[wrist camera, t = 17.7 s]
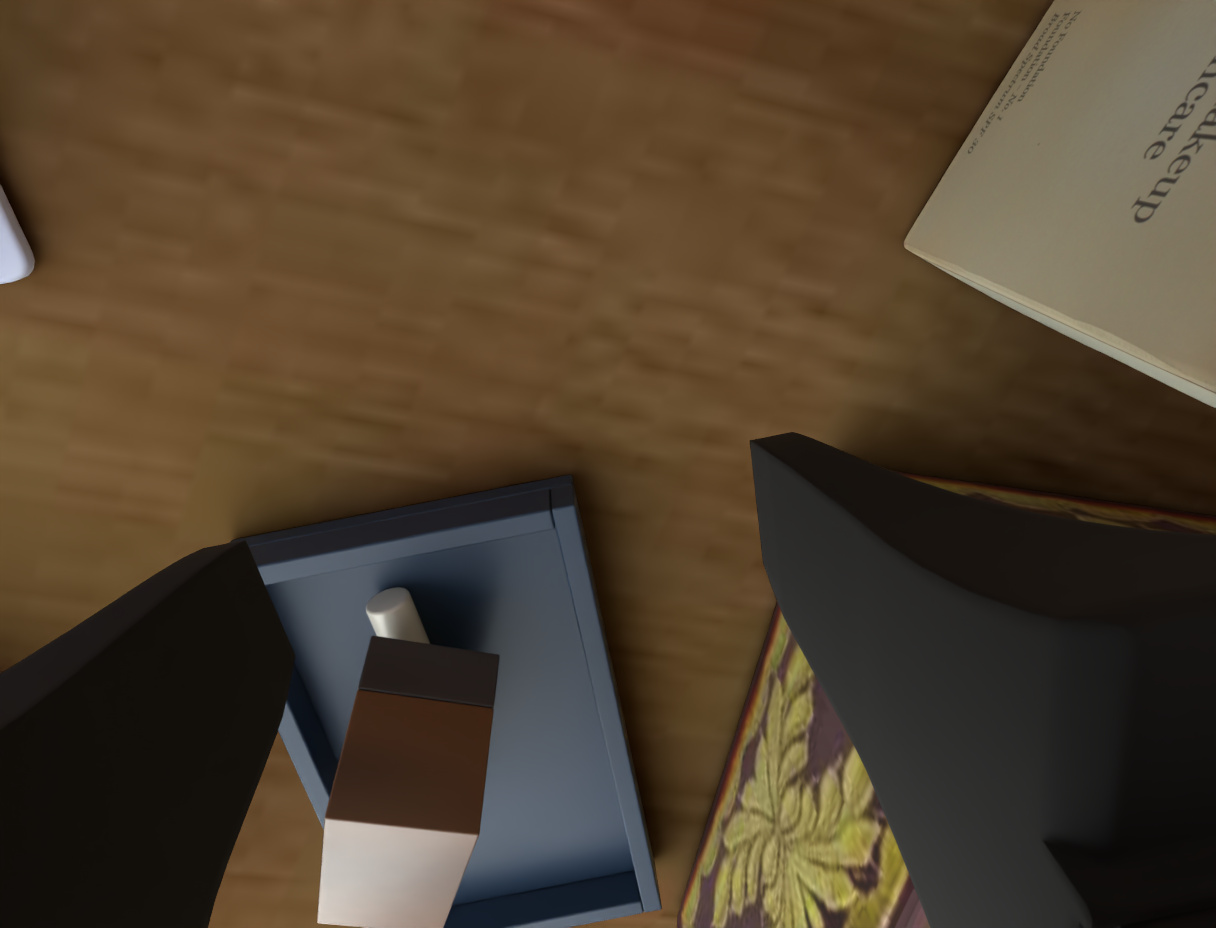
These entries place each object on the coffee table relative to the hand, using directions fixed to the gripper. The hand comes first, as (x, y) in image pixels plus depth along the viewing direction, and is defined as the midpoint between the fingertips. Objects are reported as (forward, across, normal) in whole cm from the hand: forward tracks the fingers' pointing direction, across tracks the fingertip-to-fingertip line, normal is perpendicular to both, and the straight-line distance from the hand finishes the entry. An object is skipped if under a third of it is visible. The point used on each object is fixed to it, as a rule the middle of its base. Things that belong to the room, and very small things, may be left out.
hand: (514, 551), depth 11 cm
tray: (+9, +4, +11) cm, 15 cm away
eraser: (+8, +5, +9) cm, 13 cm away
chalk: (+9, +4, +7) cm, 12 cm away
